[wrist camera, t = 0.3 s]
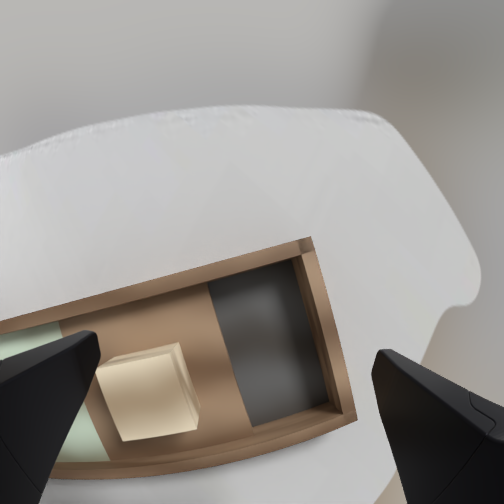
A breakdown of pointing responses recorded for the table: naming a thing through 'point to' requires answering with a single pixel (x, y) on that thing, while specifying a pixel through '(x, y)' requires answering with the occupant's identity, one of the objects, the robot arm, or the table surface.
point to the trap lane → (209, 361)
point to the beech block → (150, 393)
